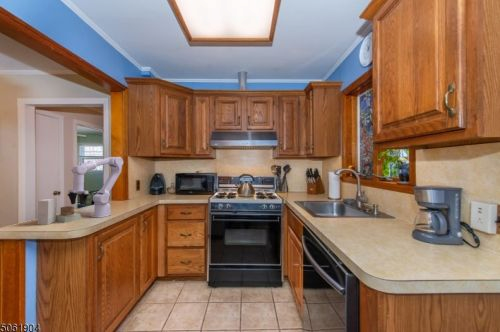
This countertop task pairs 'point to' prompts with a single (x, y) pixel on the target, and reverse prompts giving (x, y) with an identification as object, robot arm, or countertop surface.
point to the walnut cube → (67, 210)
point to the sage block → (68, 218)
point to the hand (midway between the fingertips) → (77, 204)
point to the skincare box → (46, 211)
